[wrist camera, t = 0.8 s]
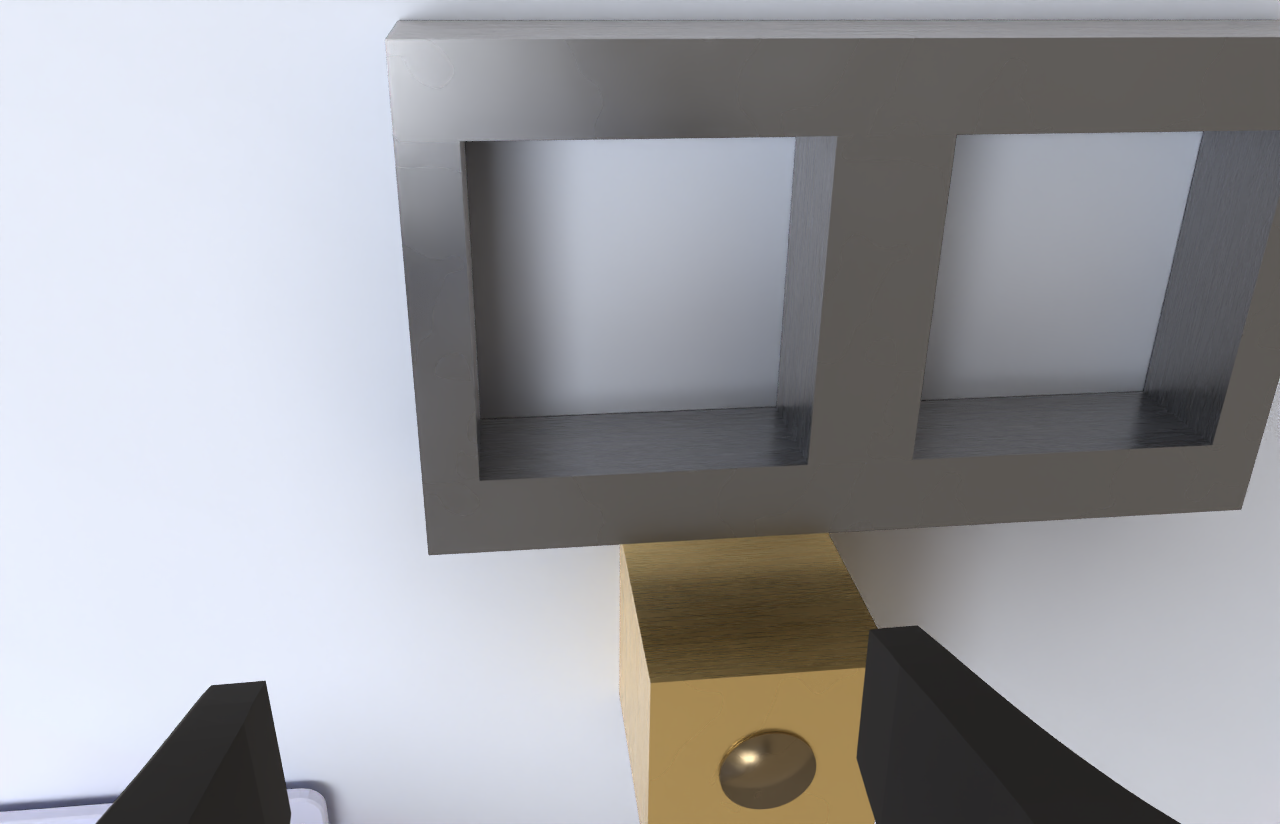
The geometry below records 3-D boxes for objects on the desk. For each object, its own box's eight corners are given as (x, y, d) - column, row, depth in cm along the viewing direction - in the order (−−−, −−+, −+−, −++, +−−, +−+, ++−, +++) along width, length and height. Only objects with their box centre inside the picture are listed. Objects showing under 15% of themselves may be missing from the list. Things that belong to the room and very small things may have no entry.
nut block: (805, 678, 26) (872, 849, 21) (619, 692, 25) (647, 869, 21) (820, 518, 24) (898, 668, 19) (619, 530, 23) (651, 685, 19)
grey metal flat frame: (1171, 451, 24) (1241, 509, 22) (434, 487, 22) (428, 555, 20) (1280, 19, 20) (1378, 36, 18) (397, 20, 18) (384, 39, 16)
